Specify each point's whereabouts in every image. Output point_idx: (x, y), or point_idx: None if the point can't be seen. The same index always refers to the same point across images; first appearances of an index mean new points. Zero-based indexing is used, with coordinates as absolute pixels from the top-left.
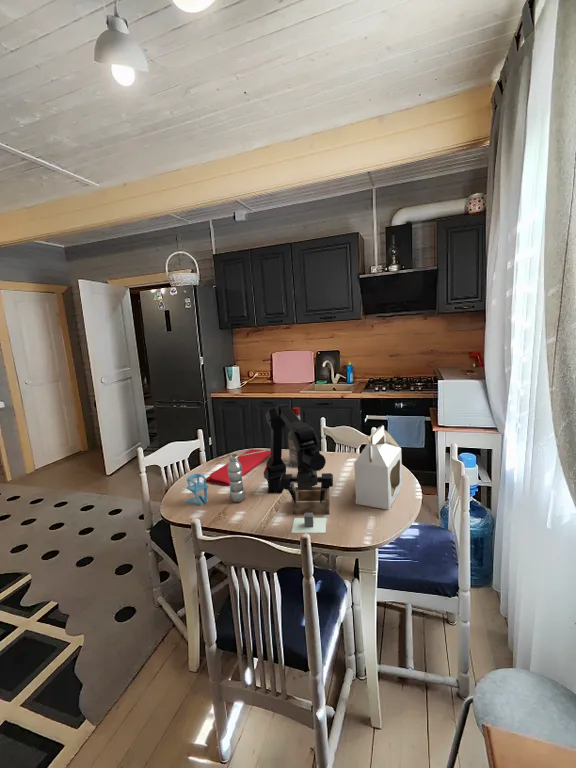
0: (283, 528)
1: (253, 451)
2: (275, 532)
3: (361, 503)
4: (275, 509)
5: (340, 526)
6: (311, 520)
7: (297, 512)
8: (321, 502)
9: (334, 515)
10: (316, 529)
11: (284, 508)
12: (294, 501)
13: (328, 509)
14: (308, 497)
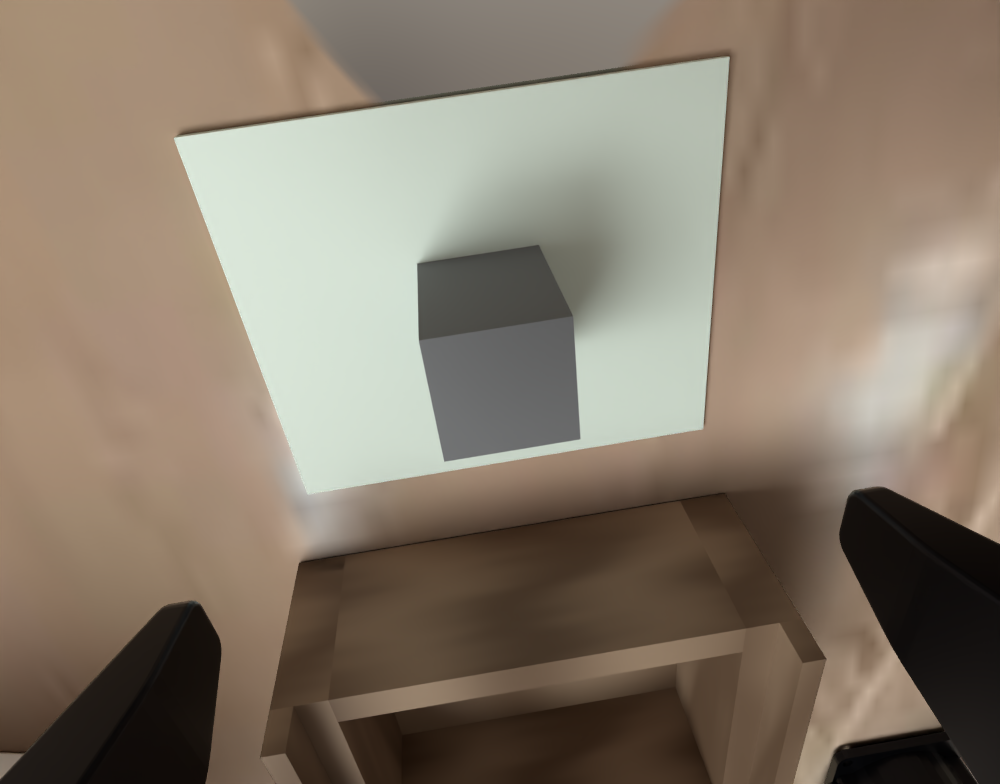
0: (845, 177)
1: None
2: (973, 44)
3: (6, 767)
4: None
5: (32, 351)
6: (439, 306)
7: (677, 518)
8: (155, 616)
9: (227, 553)
10: (350, 209)
11: (817, 571)
12: (923, 515)
13: (293, 612)
14: (585, 744)
